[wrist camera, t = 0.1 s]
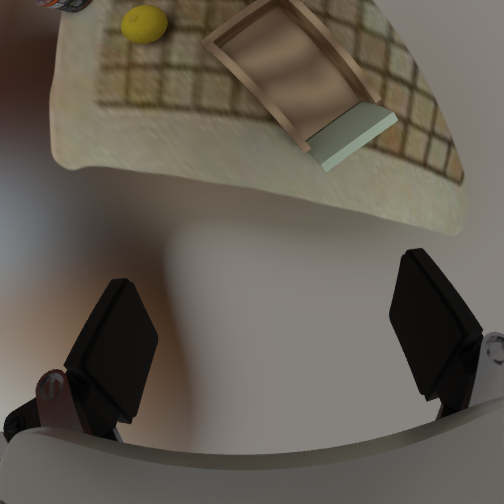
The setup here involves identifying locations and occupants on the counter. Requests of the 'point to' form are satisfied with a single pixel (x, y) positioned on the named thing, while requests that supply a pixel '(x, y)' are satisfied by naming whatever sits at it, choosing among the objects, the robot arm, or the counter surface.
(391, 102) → the counter surface
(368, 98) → the crate
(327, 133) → the panel
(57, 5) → the supplement bottle
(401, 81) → the counter surface
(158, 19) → the lemon
